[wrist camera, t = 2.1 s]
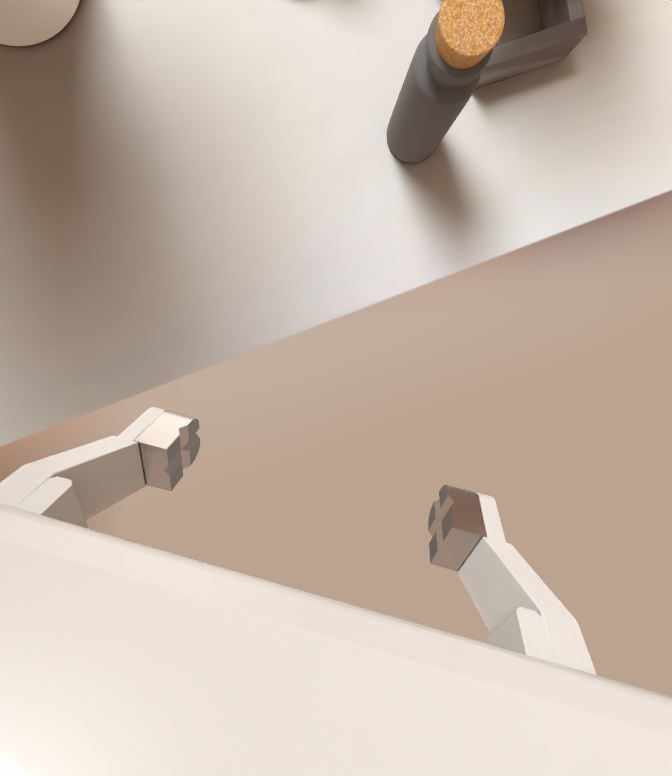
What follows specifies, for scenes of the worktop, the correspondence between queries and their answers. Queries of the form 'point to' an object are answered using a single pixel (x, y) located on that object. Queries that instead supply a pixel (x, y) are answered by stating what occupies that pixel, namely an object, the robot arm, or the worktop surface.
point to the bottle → (443, 75)
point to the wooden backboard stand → (538, 42)
